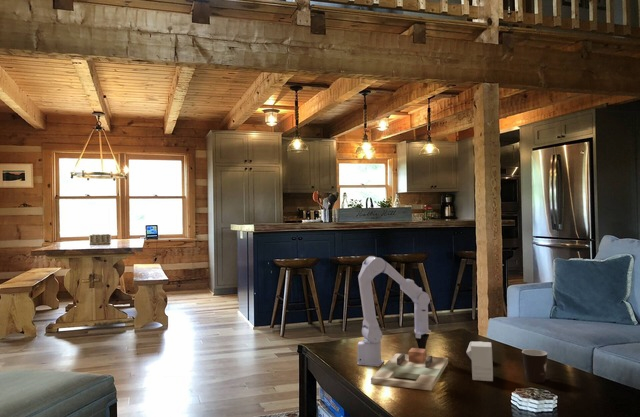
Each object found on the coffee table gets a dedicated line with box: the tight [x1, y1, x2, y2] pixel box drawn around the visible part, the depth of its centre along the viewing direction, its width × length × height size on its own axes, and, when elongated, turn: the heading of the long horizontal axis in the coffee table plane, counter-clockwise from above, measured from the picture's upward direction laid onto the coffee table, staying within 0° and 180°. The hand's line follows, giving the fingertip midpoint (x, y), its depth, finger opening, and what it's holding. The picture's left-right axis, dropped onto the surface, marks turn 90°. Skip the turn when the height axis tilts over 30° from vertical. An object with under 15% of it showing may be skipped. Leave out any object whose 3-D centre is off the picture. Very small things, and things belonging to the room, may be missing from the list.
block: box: [407, 347, 427, 363], centre depth 204 cm, size 6×6×4 cm
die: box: [465, 341, 483, 361], centre depth 208 cm, size 8×9×10 cm
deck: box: [370, 353, 449, 391], centre depth 195 cm, size 22×35×4 cm, turn 157°
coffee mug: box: [521, 348, 548, 384], centre depth 184 cm, size 12×9×10 cm
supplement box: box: [471, 341, 494, 382], centre depth 187 cm, size 7×7×13 cm
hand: (422, 351), depth 212 cm, fingers closed
